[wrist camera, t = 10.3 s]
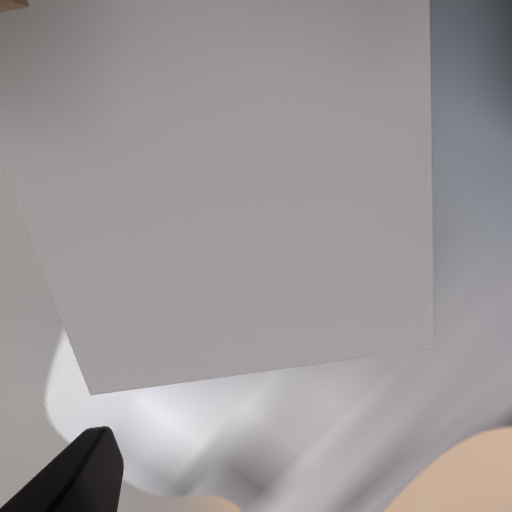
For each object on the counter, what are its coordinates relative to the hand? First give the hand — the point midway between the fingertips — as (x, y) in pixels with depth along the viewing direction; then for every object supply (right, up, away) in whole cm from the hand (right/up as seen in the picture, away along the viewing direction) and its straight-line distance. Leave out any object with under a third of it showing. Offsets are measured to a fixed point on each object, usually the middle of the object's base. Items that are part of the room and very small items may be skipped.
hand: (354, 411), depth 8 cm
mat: (-3, +5, +11) cm, 12 cm away
